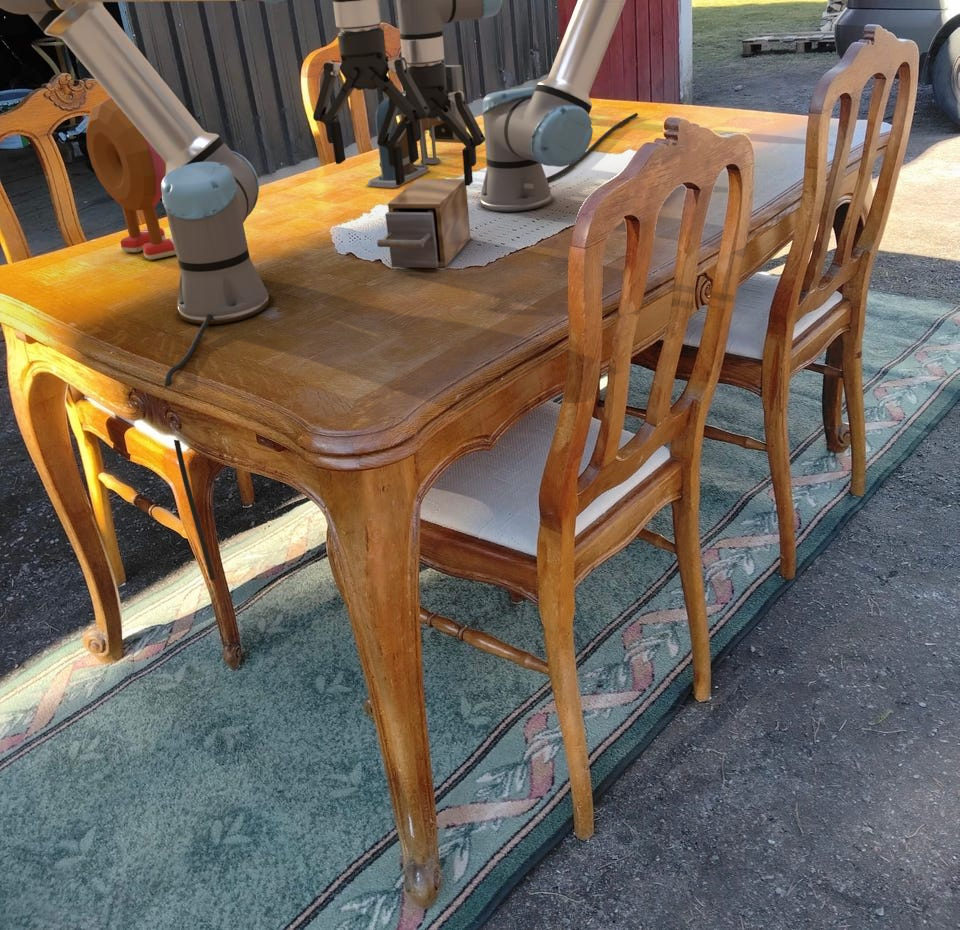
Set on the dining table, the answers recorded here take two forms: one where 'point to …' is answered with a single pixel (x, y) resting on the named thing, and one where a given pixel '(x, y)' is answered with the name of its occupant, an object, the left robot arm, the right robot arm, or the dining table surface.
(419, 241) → the drawer
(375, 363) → the dining table surface
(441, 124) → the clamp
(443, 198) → the cabinet
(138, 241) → the toy
